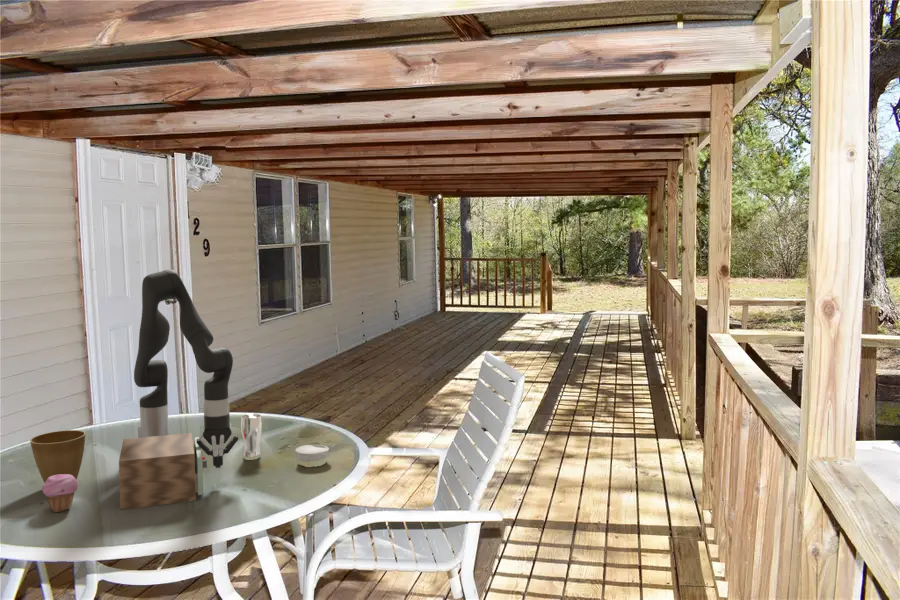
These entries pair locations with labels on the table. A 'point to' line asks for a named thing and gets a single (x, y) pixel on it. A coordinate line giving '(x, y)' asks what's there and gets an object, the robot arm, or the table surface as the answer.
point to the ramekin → (311, 452)
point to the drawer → (199, 468)
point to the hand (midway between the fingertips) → (218, 467)
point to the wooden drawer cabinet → (157, 470)
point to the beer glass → (251, 434)
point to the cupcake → (60, 491)
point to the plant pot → (58, 452)
